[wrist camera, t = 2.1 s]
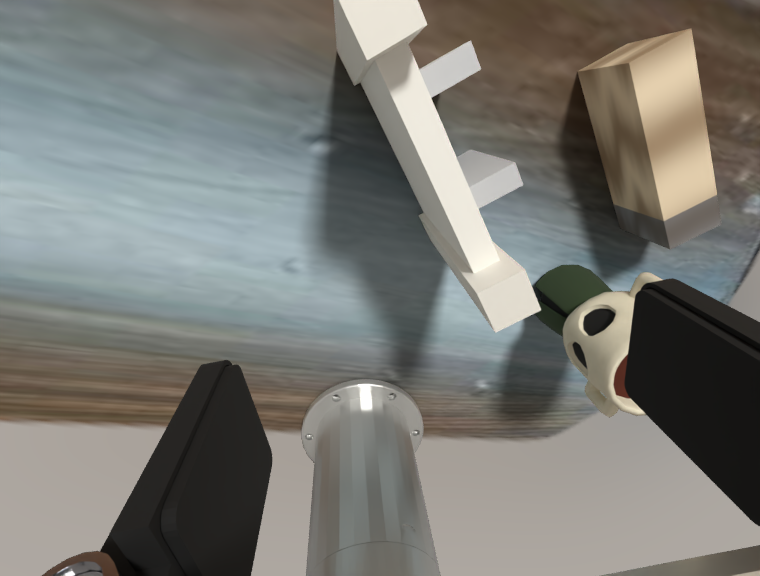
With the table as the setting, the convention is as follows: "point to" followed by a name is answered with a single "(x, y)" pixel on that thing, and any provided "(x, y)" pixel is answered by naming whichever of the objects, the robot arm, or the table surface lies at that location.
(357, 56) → the white stand
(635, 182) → the beige block
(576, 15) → the table surface
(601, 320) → the character mug
